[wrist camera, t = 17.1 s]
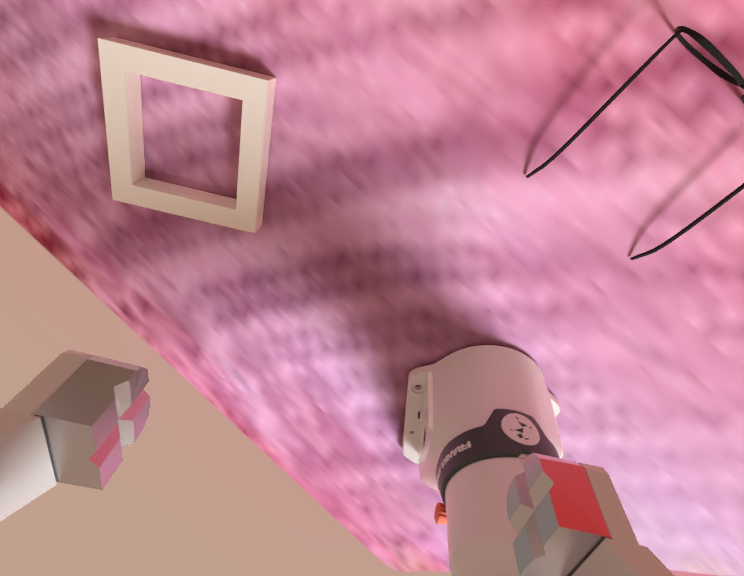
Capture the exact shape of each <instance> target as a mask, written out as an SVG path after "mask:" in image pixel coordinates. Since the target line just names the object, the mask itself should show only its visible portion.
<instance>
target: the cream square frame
mask: <svg viewBox="0 0 744 576" xmlns="http://www.w3.org/2000/svg"><path fill="white" fill-rule="evenodd" d="M98 49H99V59H100V70H101V81H102V92H103V103H104V113H105V124H106V135H107V146H108V157H109V167H110V178H111V189H112V200H115V201H119V202H124V203H128V204H132V205H136V206H141V207H145V208H149V209H153V210H158V211H162V212H166V213H170V214H175V215H179V216H183V217H187V218H192V219H196V220H200V221H204V222H208V223H213V224H217V225H221V226H225V227H230V228H234V229H238V230H242V231H247V232H251V233H256V231H257V230H258V229H259V227H260V226H261V225H262V222H263V211H264V201H265V191H266V180H267V170H268V160H269V150H270V139H271V129H272V119H273V108H274V98H275V88H276V77H273V76H269V75H265V74H261V73H257V72H253V71H249V70H245V69H241V68H237V67H233V66H229V65H225V64H221V63H217V62H213V61H209V60H205V59H201V58H197V57H193V56H189V55H185V54H181V53H177V52H173V51H169V50H165V49H161V48H157V47H153V46H149V45H145V44H141V43H137V42H133V41H129V40H125V39H121V38H117V37H107V38H98ZM140 75H143V76H147V77H151V78H155V79H159V80H163V81H167V82H171V83H175V84H179V85H183V86H187V87H191V88H195V89H199V90H203V91H207V92H211V93H215V94H219V95H223V96H227V97H231V98H235V99H239V100H243V103H242V119H241V135H240V151H239V168H238V184H237V199H234V198H230V197H226V196H222V195H218V194H213V193H209V192H205V191H201V190H197V189H192V188H188V187H184V186H180V185H176V184H171V183H167V182H163V181H159V180H155V179H151V178H146V177H145V158H144V138H143V118H142V98H141V78H140Z"/></svg>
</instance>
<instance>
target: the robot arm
mask: <svg viewBox="0 0 744 576" xmlns="http://www.w3.org/2000/svg"><path fill="white" fill-rule="evenodd" d="M148 381H149V379H148V370H147V369H146V368H143V367H140V366H136V365H132V364H128V363H124V362H120V361H116V360H112V359H108V358H104V357H100V356H94V355H90V354H86V353H82V352H77V351H74V350H69V351H66V352H64V353H62V354H60V355H59V356H58V357H57V358H56V359H55V360H54V361H53V362H52V363H51V364H49V365H48V366H47V367H46V368H45V369H44V370H43V371H42V372H41V373H40V374H39V375H38V376H37V377H36V378H34V379H33V380H32V381H31V382H30V383H29V384H28V385H27V386H26V387H25V388H24V389H23V390H22V391H21V392H19V393H18V394H17V395H16V396H15V397H14V398H13V399H12V400H11V401H10V402H9V403H8V404H7V405H5V406H4V407H3V408H0V521H1V520H3V519H4V518H6V517H7V516H9V515H11V514H12V513H14V512H15V511H17V510H18V509H20V508H21V507H23V506H24V505H26V504H28V503H29V502H31V501H32V500H34V499H35V498H37V497H38V496H40V495H41V494H43V493H44V492H46V491H48V490H49V489H51V488H52V487H54V486H55V485H56V484H57V482H61V483H67V484H72V485H78V486H84V487H89V488H95V489H100V490H103V488H104V487H105V485H106V484H107V482H108V481H109V479H110V478H111V476H112V475H113V474H114V472H115V471H116V469H117V467H118V466H119V465H120V463H121V461H122V453H121V449H122V448H124V447H126V446H128V445H130V444H131V443H133V442H135V440H136V439H137V437H138V436H139V434H140V433H141V431H142V429H143V427H144V425H145V422H146V420H147V417H148V414H149V408H150V397H149V395H148V394H147V393H146V392H145V391H144V390H143V388H144V387H145V385H146V384H147V383H148ZM416 385H420V386H416ZM559 412H560V406H559V402H558V400H557V399H556V398H555V397H554V396H553V395H552V394H551V393H550V392H549V391H548V389H547V387H546V383H545V379H544V376H543V373H542V371H541V370H540V368H539V367H538V365H537V364H536V363H535V362H534V361H533V360H532V359H530V358H529V357H528V356H526V355H525V354H523V353H521V352H519V351H517V350H514V349H511V348H507V347H503V346H496V345H479V346H472V347H468V348H464V349H461V350H458V351H456V352H453V353H451V354H449V355H448V356H446V357H444V358H443V359H441V360H440V361H438V362H436V363H434V364H431V365H426V366H422V367H418V368H415V369H413V370H412V371H410V373H409V376H408V386H407V398H406V409H405V421H404V432H403V444H402V448H403V455H404V456H405V457H406V458H408V459H409V460H411V461H412V462H414V463H416V464H418V465H419V471H420V478H421V480H422V481H423V482H424V483H425V484H426V485H427V486H429V487H431V488H432V489H434V490H436V491H439V492H440V493H441V497H442V500H443V503H444V504H443V503H437V505H436V508H435V516H434V517H435V522H436V523H437V524H447V535H448V551H449V566H450V572H451V575H452V576H674V575H673V574H672V573H671V572H670V571H669V570H668V569H667V568H666V567H665V566H664V564H663V563H662V562H661V561H660V560H659V559H658V558H657V557H656V556H655V555H654V554H653V553H652V552H651V551H650V550H649V549H648V548H647V547H645V546H641V545H639V543H638V541H637V539H636V536H635V534H634V532H633V530H632V527H631V525H630V523H629V520H628V518H627V516H626V514H625V511H624V509H623V507H622V504H621V502H620V500H619V497H618V495H617V493H616V491H615V488H614V486H613V484H612V481H611V479H610V477H609V475H608V473H607V472H606V471H605V470H604V469H603V468H602V467H597V466H592V465H588V464H583V463H577V462H575V461H570V460H565V459H560V458H562V456H563V448H562V444H561V439H560V435H559V431H558V426H557V422H556V418H555V417H556V416H557V415H558V414H559Z"/></svg>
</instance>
